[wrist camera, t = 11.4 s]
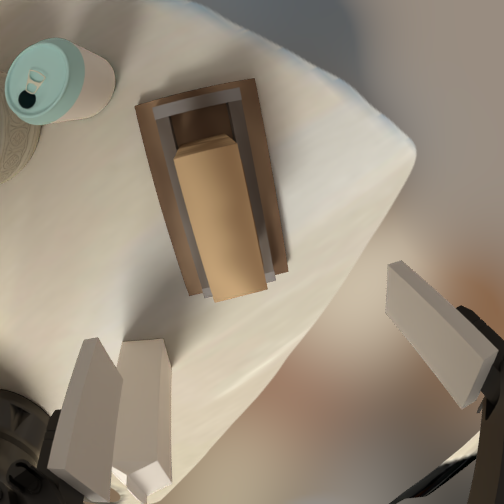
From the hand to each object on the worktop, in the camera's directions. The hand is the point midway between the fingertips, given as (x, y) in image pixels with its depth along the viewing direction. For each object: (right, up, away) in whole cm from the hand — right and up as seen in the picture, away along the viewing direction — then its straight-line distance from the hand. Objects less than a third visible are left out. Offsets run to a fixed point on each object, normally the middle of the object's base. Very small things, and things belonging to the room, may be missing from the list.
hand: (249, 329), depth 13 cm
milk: (-15, -11, +29) cm, 34 cm away
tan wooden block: (-4, +9, +19) cm, 22 cm away
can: (-17, +20, +13) cm, 30 cm away
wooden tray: (-4, +10, +21) cm, 23 cm away
